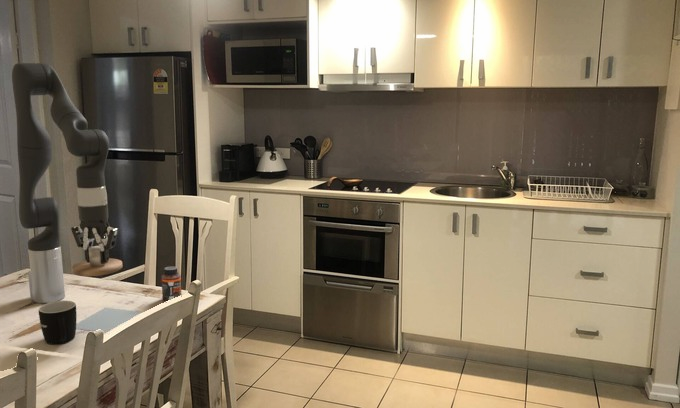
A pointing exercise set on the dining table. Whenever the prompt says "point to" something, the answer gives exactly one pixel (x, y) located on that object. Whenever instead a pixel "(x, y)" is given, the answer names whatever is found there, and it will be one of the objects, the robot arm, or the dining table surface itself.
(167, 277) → the supplement bottle
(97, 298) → the dining table surface
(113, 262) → the lid
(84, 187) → the robot arm
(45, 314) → the mug
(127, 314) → the mat
